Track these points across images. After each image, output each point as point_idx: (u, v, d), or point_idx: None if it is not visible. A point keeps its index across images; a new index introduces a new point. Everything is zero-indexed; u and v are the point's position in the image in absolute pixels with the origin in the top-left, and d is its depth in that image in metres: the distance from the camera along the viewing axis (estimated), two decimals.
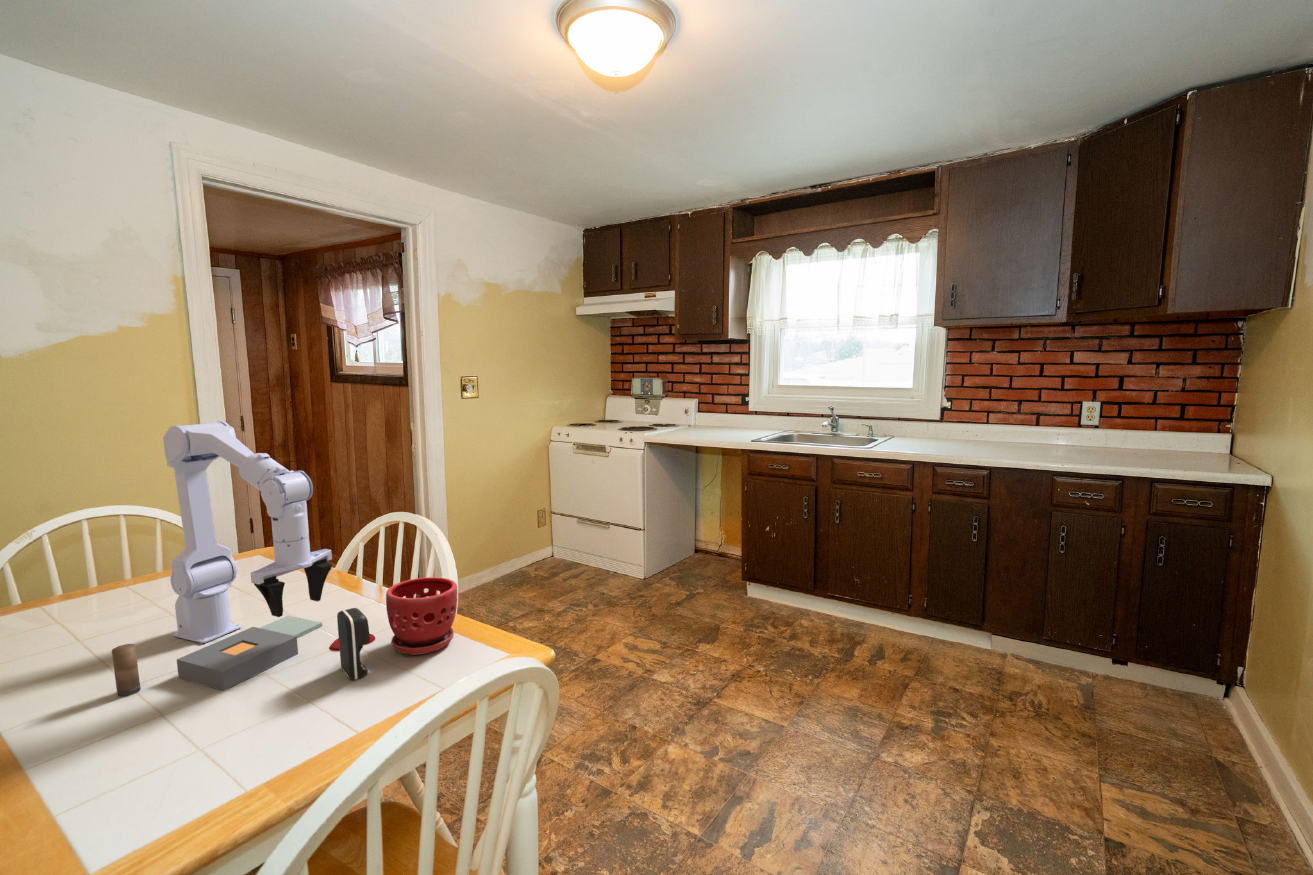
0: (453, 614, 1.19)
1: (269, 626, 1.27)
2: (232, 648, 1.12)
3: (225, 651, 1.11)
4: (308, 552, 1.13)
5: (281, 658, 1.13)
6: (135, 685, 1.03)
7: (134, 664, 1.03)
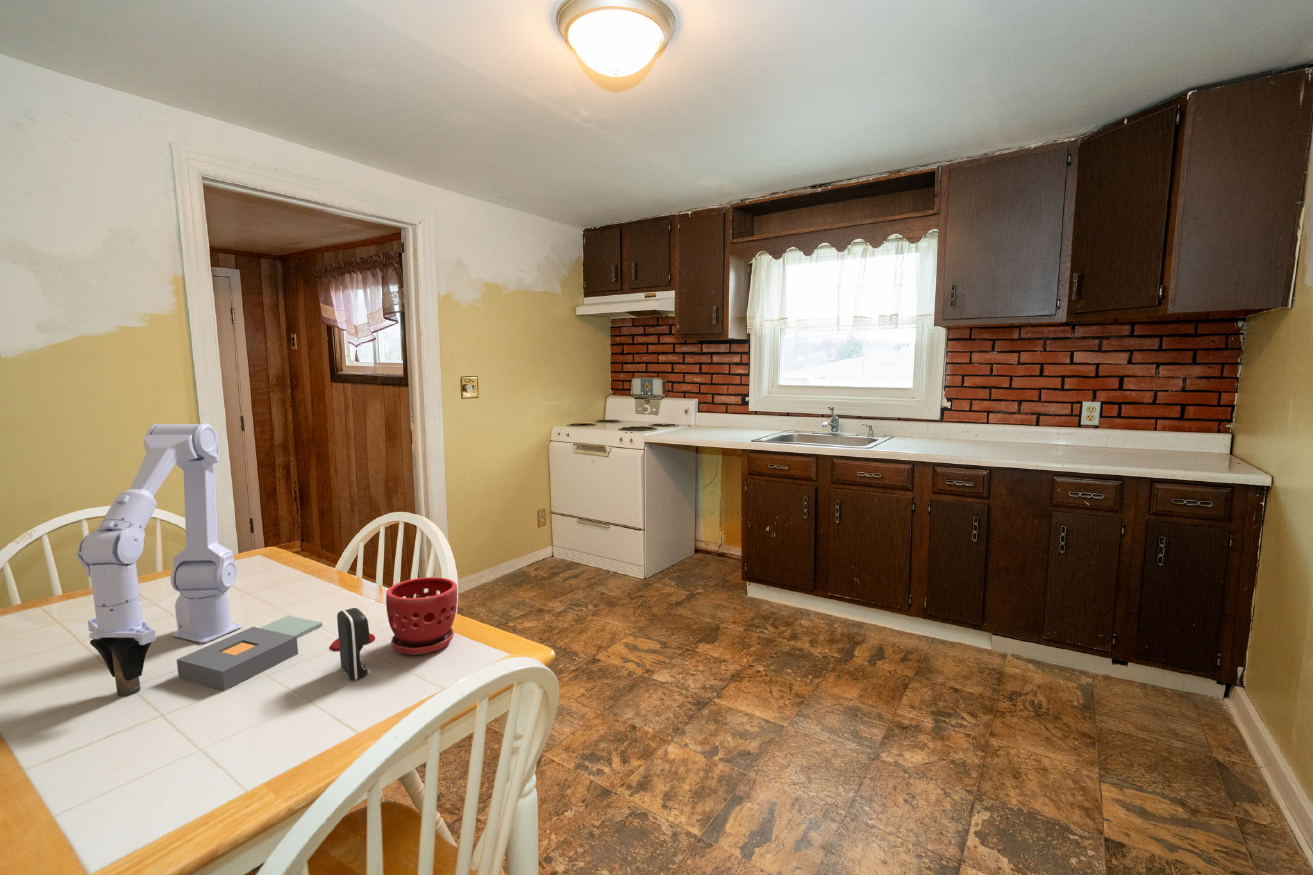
0: (453, 614, 1.19)
1: (269, 626, 1.27)
2: (232, 648, 1.12)
3: (225, 651, 1.11)
4: (107, 623, 0.99)
5: (281, 658, 1.13)
6: (135, 685, 1.03)
7: None
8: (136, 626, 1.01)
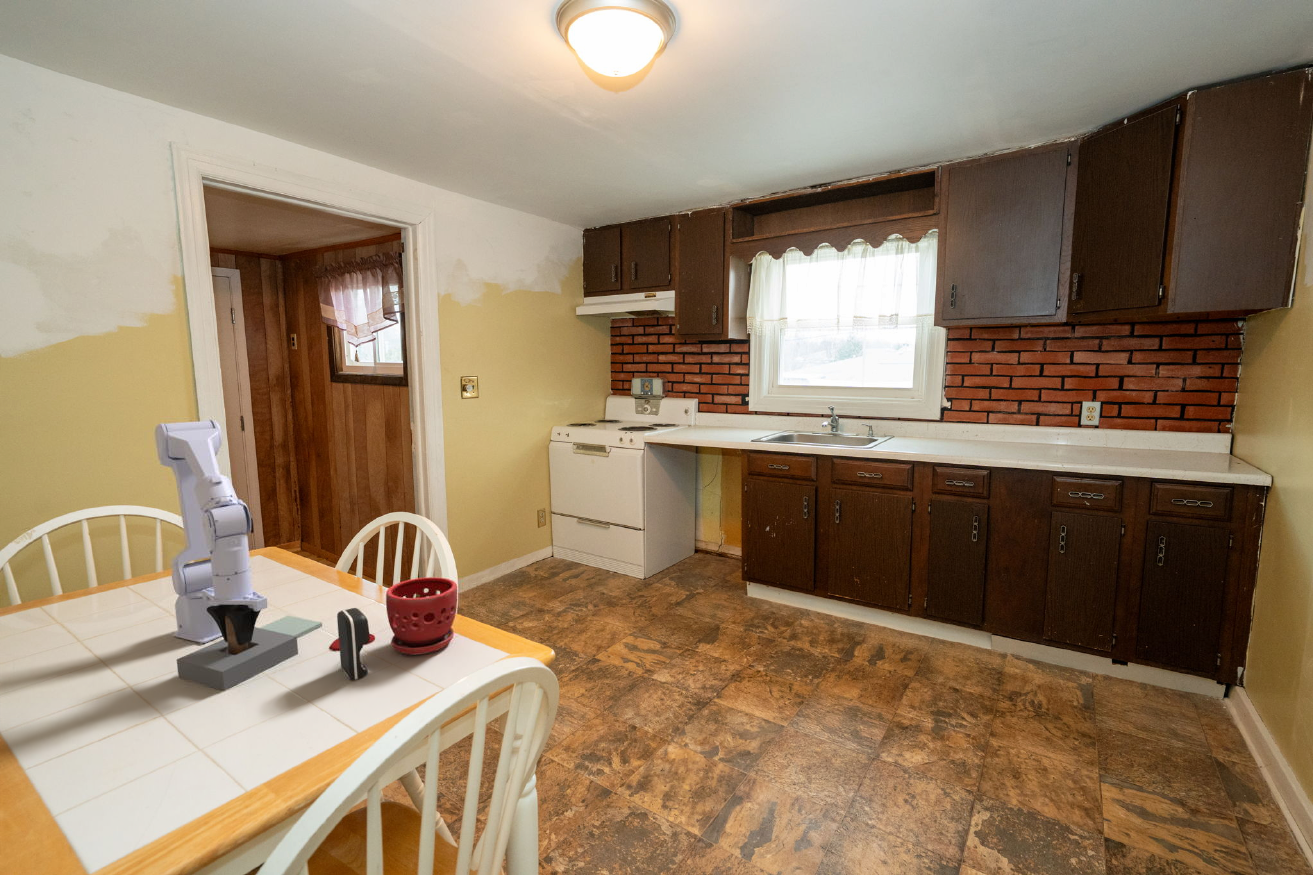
0: (453, 614, 1.19)
1: (269, 626, 1.27)
2: None
3: None
4: (224, 591, 1.07)
5: (281, 658, 1.13)
6: (244, 650, 1.11)
7: None
8: (248, 595, 1.10)
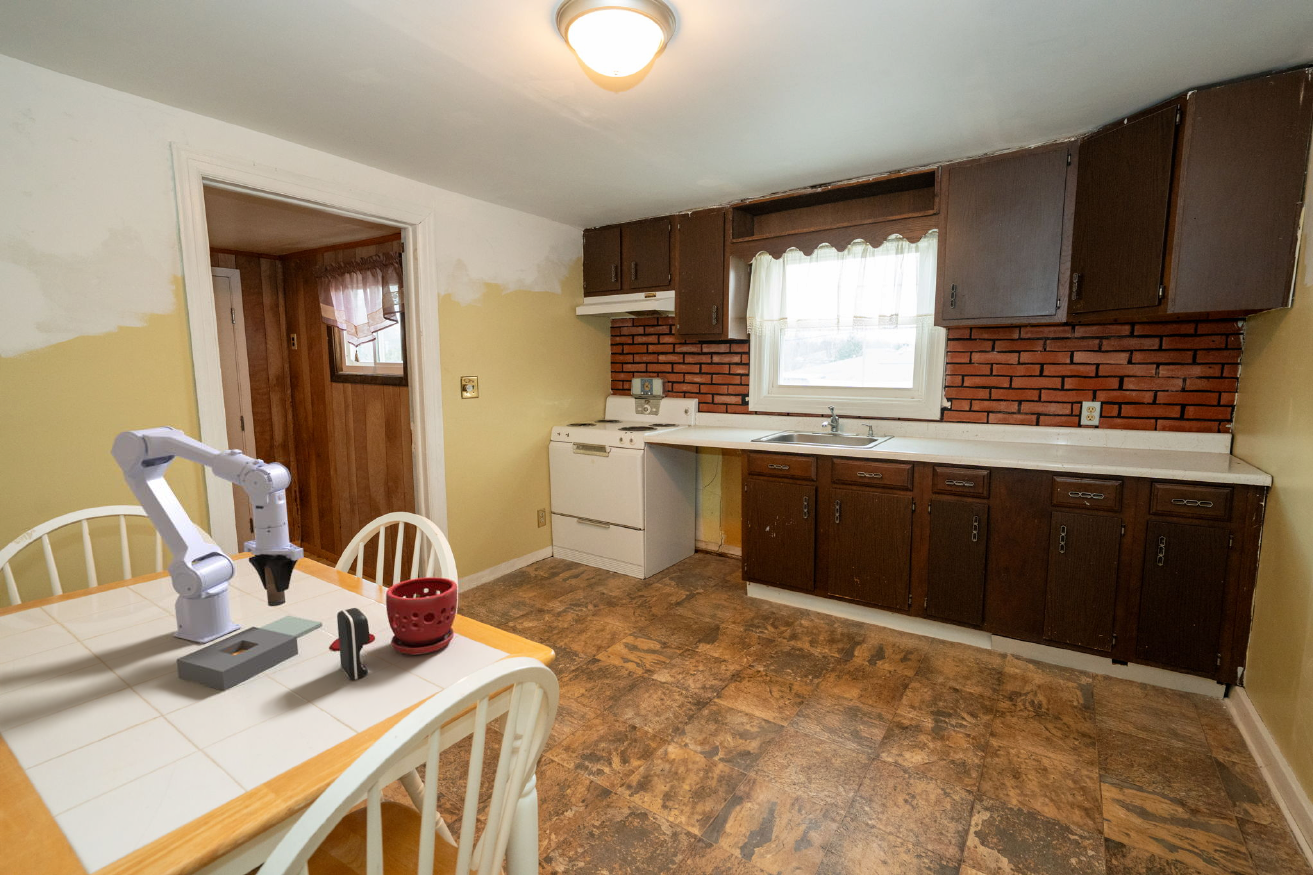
0: (453, 614, 1.19)
1: (269, 626, 1.27)
2: None
3: None
4: (265, 542, 1.19)
5: (281, 658, 1.13)
6: (282, 597, 1.23)
7: None
8: (286, 546, 1.21)
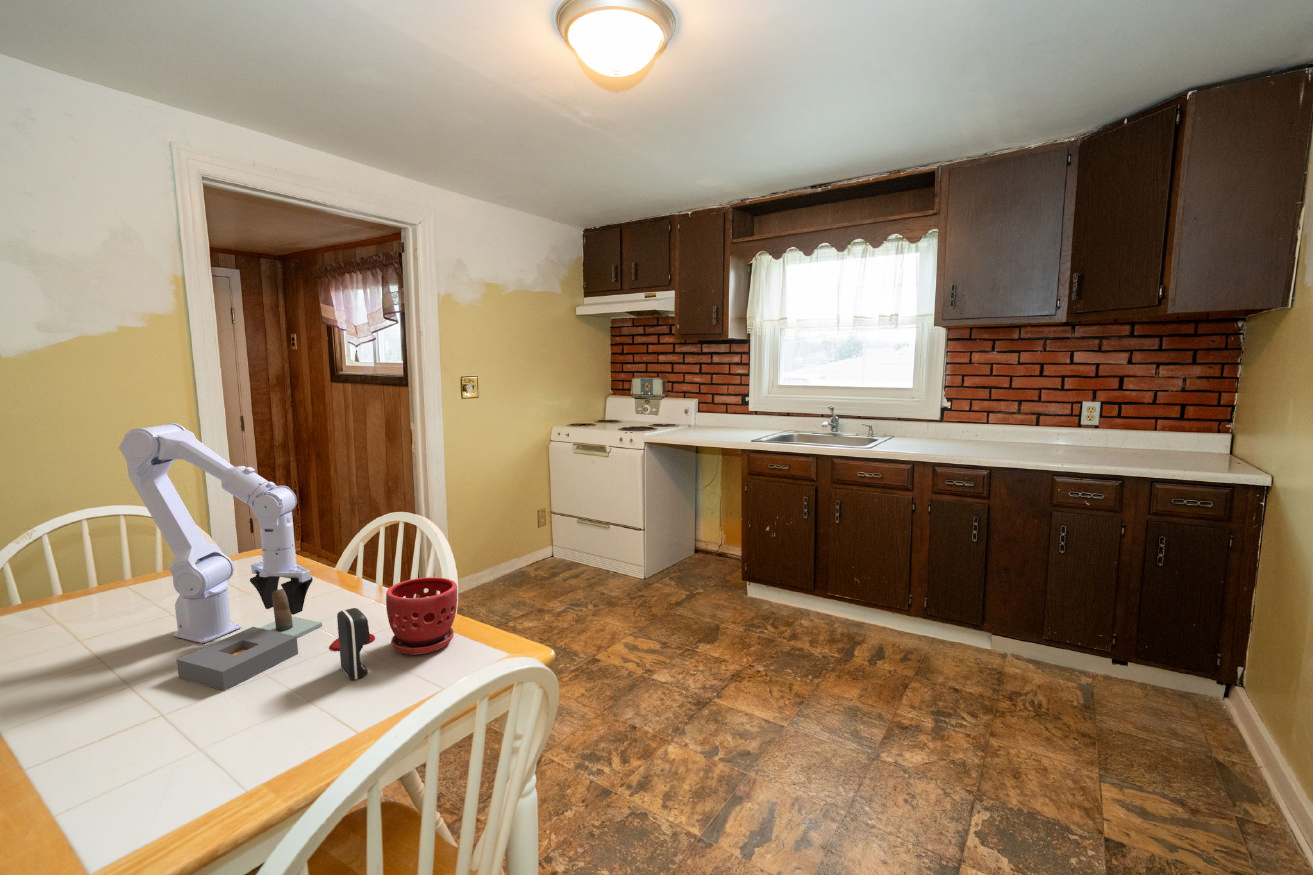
0: (453, 614, 1.19)
1: (269, 626, 1.27)
2: None
3: None
4: (273, 565, 1.21)
5: (281, 658, 1.13)
6: (290, 622, 1.25)
7: None
8: (293, 568, 1.24)
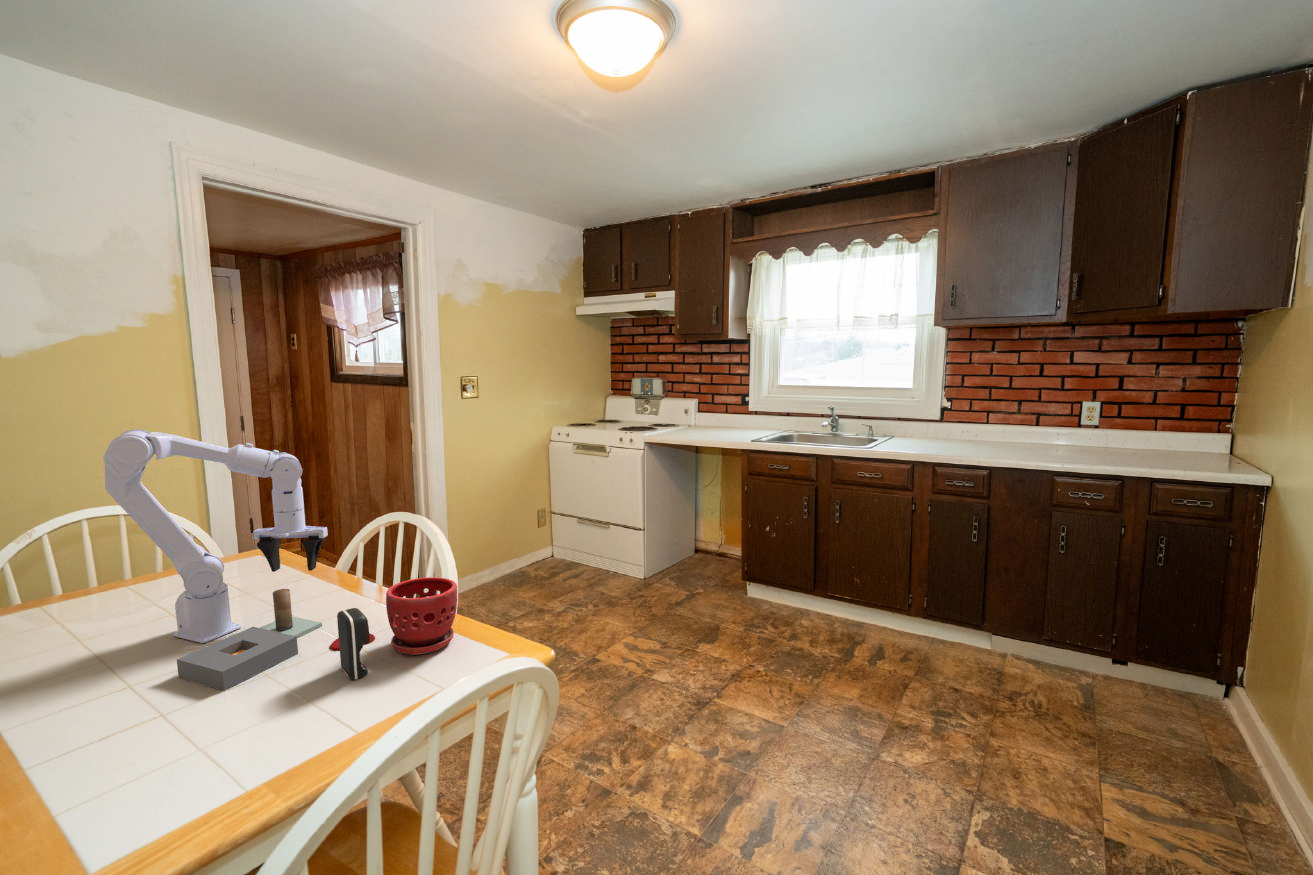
0: (453, 614, 1.19)
1: (269, 626, 1.27)
2: None
3: None
4: (290, 525, 1.29)
5: (281, 658, 1.13)
6: (290, 622, 1.25)
7: (289, 604, 1.25)
8: (306, 528, 1.33)
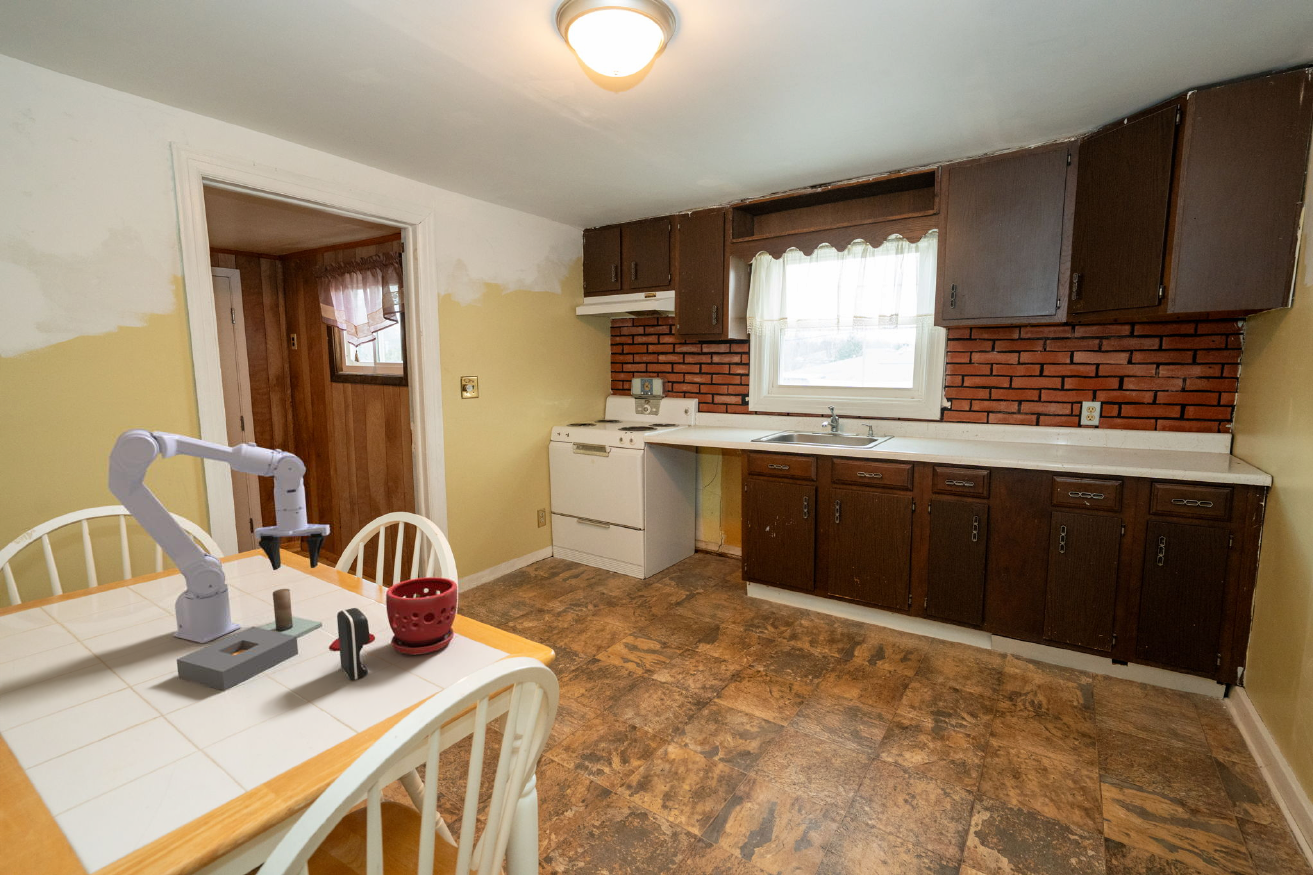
0: (453, 614, 1.19)
1: (269, 626, 1.27)
2: None
3: None
4: (294, 523, 1.31)
5: (281, 658, 1.13)
6: (290, 622, 1.25)
7: (289, 605, 1.25)
8: (307, 526, 1.34)
